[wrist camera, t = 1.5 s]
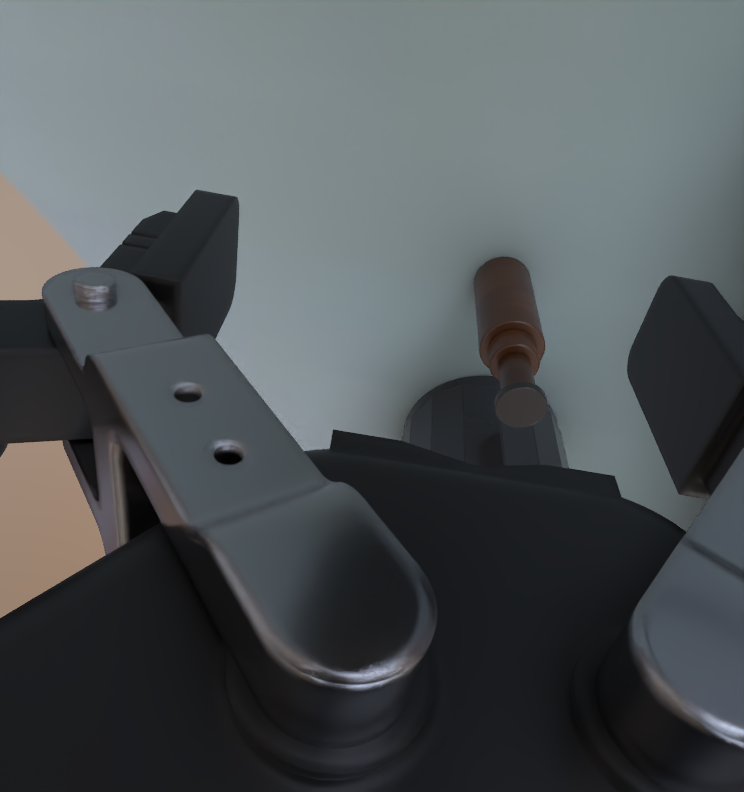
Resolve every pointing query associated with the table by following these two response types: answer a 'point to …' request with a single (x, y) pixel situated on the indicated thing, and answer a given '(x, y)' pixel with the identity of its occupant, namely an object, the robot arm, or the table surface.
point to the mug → (480, 428)
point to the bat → (510, 339)
